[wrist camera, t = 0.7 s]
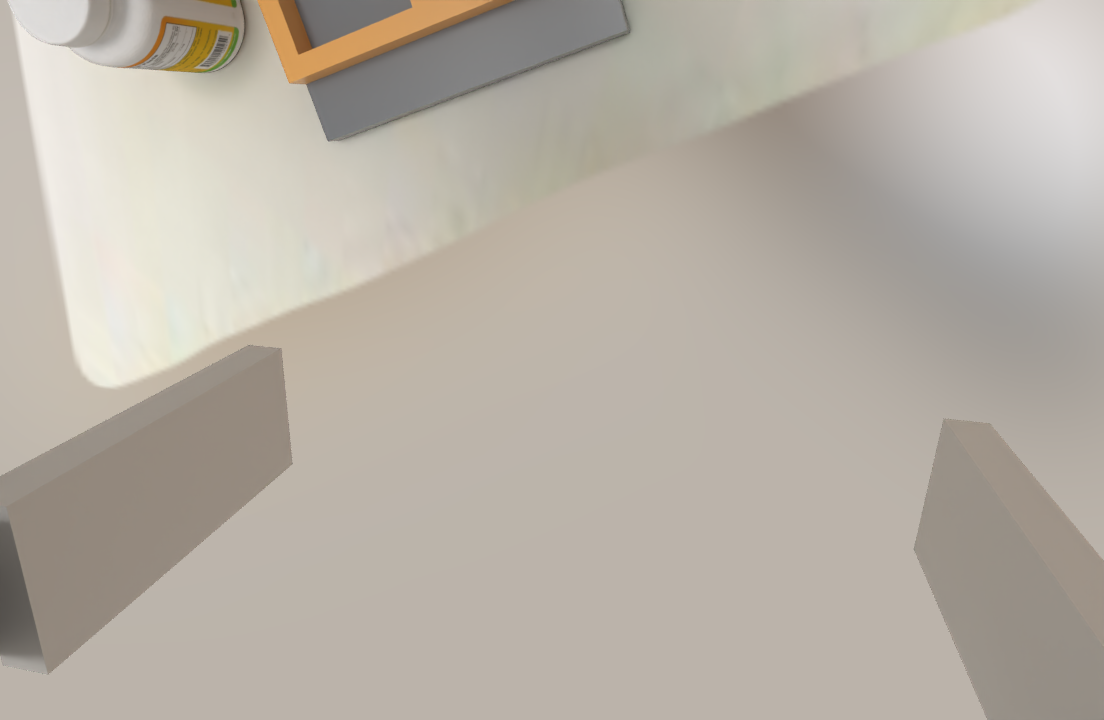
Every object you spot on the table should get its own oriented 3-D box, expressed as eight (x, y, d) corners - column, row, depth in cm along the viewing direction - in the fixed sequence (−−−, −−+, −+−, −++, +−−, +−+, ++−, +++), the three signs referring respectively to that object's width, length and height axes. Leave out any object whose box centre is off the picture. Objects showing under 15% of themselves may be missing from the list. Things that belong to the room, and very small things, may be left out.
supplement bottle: (149, -42, 38) (-26, -88, 29) (243, -38, 37) (92, -85, 28) (161, 71, 40) (0, 59, 31) (251, 76, 39) (111, 66, 30)
